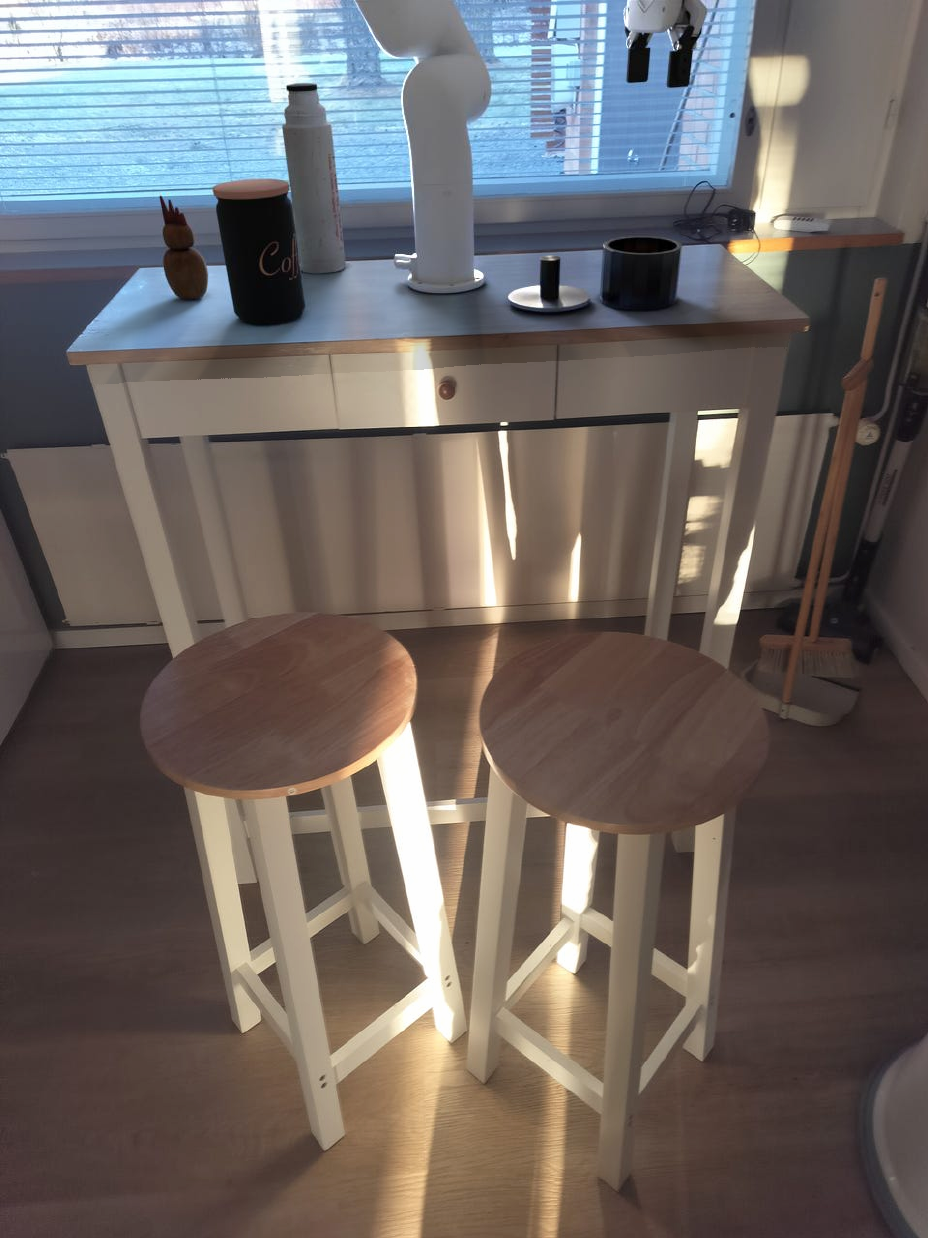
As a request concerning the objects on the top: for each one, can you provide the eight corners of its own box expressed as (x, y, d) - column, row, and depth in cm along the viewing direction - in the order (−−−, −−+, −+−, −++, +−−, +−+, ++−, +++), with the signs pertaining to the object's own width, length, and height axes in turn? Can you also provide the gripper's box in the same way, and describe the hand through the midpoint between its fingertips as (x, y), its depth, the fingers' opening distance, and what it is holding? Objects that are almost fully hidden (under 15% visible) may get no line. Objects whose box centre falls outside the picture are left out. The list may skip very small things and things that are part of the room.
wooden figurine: (164, 297, 141) (141, 196, 133) (194, 289, 145) (174, 190, 136) (187, 304, 138) (165, 201, 129) (218, 296, 141) (199, 195, 132)
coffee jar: (273, 330, 126) (252, 194, 115) (220, 320, 130) (195, 188, 120) (320, 311, 133) (305, 181, 122) (268, 302, 138) (249, 176, 127)
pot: (593, 308, 131) (596, 252, 126) (608, 287, 139) (611, 234, 135) (669, 313, 127) (676, 256, 123) (680, 292, 136) (686, 237, 132)
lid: (498, 312, 130) (498, 265, 126) (520, 290, 139) (521, 245, 136) (580, 318, 127) (582, 270, 123) (597, 295, 136) (600, 250, 132)
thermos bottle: (351, 262, 157) (333, 80, 141) (337, 274, 151) (317, 85, 134) (309, 261, 158) (287, 81, 142) (294, 272, 152) (268, 85, 136)
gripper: (608, -74, 112) (599, 82, 122) (686, -84, 99) (669, 90, 109) (657, -74, 115) (645, 78, 125) (740, -85, 102) (719, 87, 112)
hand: (656, 84), depth 117 cm, fingers open, 9 cm apart
